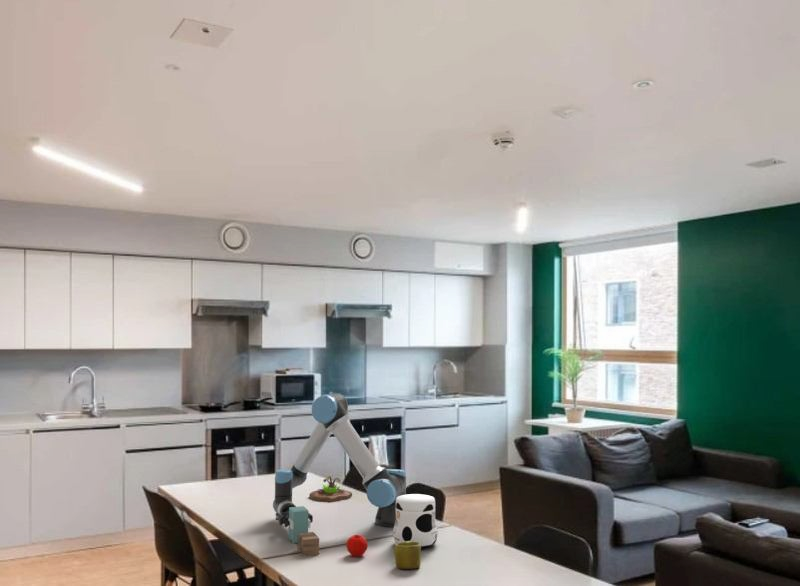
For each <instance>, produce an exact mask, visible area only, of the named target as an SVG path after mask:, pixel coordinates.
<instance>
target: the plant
mask: <svg viewBox="0 0 800 586" xmlns="http://www.w3.org/2000/svg"><path fill="white" fill-rule="evenodd" d="M336 480H337V482H339V483H340V482H341V479H340V478H338V477H336V478H334V479H332V477H331V476H330V475H328V476H327V477H326V478H324V479H323V483H326V482H327V485H324V484H322V487H321V488H318V489H316V490H314V491H311V492H310V493H309V494H308V495H309V499H311V500H312V501H316V502H327V503H336V502H340V501H341V502H342V501H345V500H349V499H351V498H352V497H353V492H351V491H349V490H345V489H342V488H341V487H342V486H341V485H340V486H338V485H337V484H336V483H335V482H336Z"/></svg>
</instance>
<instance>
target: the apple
mask: <svg viewBox="0 0 800 586" xmlns="http://www.w3.org/2000/svg"><path fill="white" fill-rule="evenodd" d="M345 545H346V549H347V551H348V552H349V554H350V555H351V556H352V557H355V558H359V557H362V556H363V555H364V554H365V553H366V552H367V550H368V542H367V539H366V538H365V537H364V536H363V535H360V534H355V535H352V536H350V537H349V538H348V539H347V541H346V544H345Z"/></svg>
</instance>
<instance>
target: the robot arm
mask: <svg viewBox="0 0 800 586" xmlns="http://www.w3.org/2000/svg"><path fill="white" fill-rule="evenodd" d="M348 410H349V403H348V400H347V398H346V397H345V396H344V395H343V394H342V393H337V392H331V393H329V394H327V393H325V394H321V395H320V396H318V397H317V398H316V399H315V400H314V401H313V402H312V405H311V415H312V417H313V419H315V421H316V422H318V423H317V424H316V426H315V427H314V429H313V430H312V433H311V435H310V436H309V437H308V439H307V441H306V443H305V444H304V446H303V448H302V449H301V452H300V453H299V454H298V456H297V458H296V460H295V462H294V463H293V465H292V467H291V468H289V469H288V468H282V469H277V470H276V471H275V475H274V476H275V477H274V500H273V501H272V502H273V503H272V508H273V509H274V512H275V520H276V521H278V524H279V525H281V526H283V525H284V527H285V528H287V527H288V528H289V527H290V528H291V529H294V522H293V521H292V520H291V519H290V518H289V507H297V506H296V504H295V503H294V502H293V489H294V488H296V487H298V486H301V485H303V484H304V483H305V482H306V480H307V477H308V473H309V471H310V470H311V468H312V466H313V465H314V463H315V462H316V460H317V458H318V457H319V455H320V453H321V451H322V450H323V448H324V446H325V444H326V443H327V441H328V439H329V438H330V436H331V435H332V434H333V436H334V437H335V438H336V440H337V442H338V443H339V444H340V446H341V447H342V449H343V451H344V452H345V453H346V455H347V457H348V458H349V460H350V461H351V462H352V464H353V465H354V467H355V468H356V470H357V471H358V473H359V475H360V476H361V477H362V485H363V488H364V489H365V490H366V497H367V499H368V502H369V503H370V504H371V505H373V506H374V507H377V510H376V515H375V518H374V519H375V520H374V522H375V523H374V524H376V525H378V526H382V527H387V528H388V527H389V528H394V525H395V521H396V498H397V497H398V496H401V495H406V494H407V492H406V491H407V489H406V488H407V473H406V471H405V470H404V469H396V468H395V469H394V468H393V469H392V468H386V467H383V466H380V465H379V464H378V461H377V460H376V459H375V457H374V456H373V454H372V453H371V451H370V449H369V448H368V447H367V445H366V444H365V442H364V441H363V439H362V438H361V436H360V435H359V434H358V432H357V431H356V429H355V428H354V426H353V424H352V423H351V422H350V421H349V418H350V414H349V413H348ZM313 519H314V518H313V514H311V513H310V512H308V529H309V528H311V523H313V521H314V520H313Z"/></svg>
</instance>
